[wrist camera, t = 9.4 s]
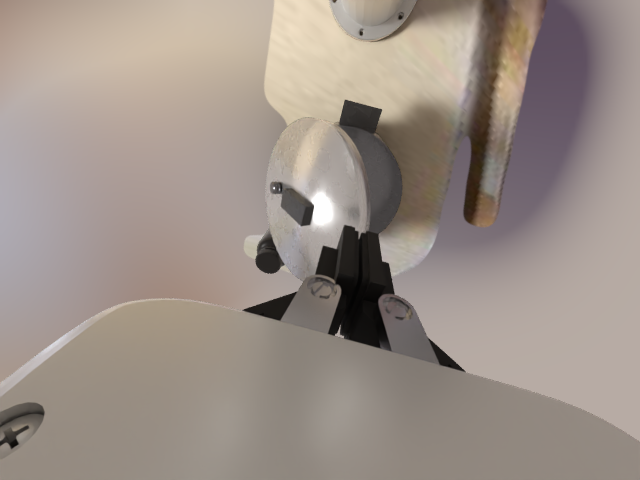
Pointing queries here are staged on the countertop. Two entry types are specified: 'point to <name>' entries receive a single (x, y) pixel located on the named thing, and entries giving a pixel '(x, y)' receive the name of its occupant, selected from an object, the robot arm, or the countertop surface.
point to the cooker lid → (314, 192)
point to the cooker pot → (374, 162)
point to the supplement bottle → (268, 255)
